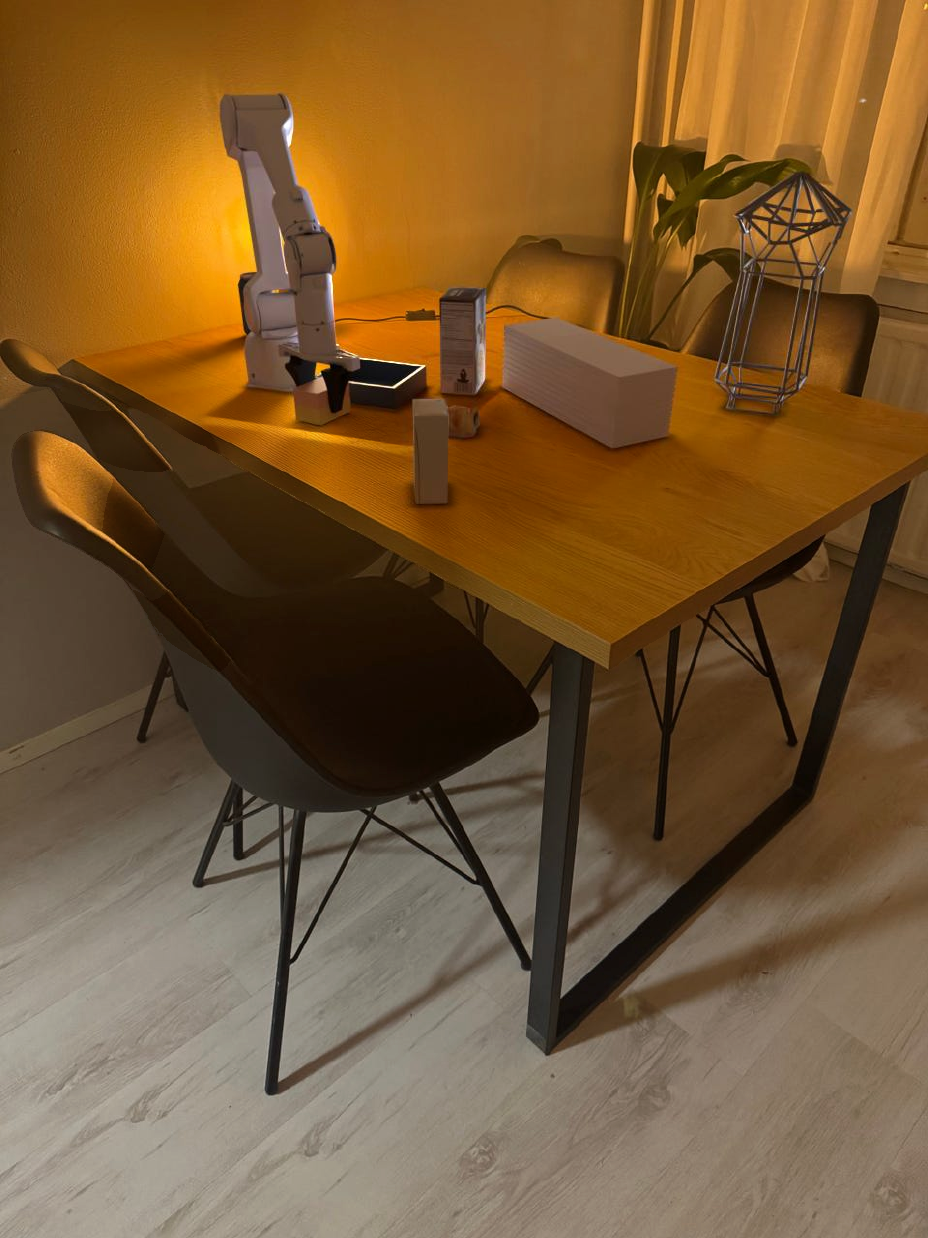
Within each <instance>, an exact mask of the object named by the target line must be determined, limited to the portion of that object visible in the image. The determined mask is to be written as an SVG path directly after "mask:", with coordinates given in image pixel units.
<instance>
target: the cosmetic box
mask: <svg viewBox="0 0 928 1238" xmlns="http://www.w3.org/2000/svg"><path fill="white" fill-rule="evenodd" d="M447 407H448V403H447V400H446V398H445V397H444V398H412V435H413V436H412V437H413V441H412V442H413V493H414V501H415V502H414V503H415V505H439V504H443V505H444V504H447V503H448V494H449V493H448V490H449V489H448V488H449V487H448V486H449V485H448V484H449V482H448V481H449V435H448V425H449V415H448V408H447Z"/></svg>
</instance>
